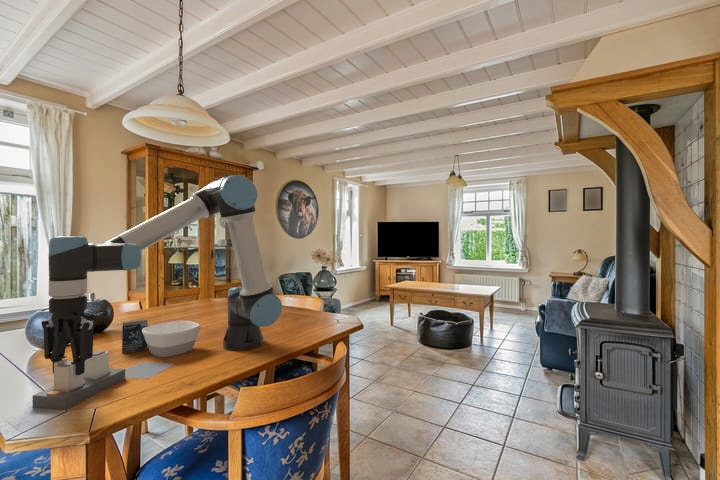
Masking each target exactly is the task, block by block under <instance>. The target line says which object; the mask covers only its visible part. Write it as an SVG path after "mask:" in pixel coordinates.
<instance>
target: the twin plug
mask: <svg viewBox="0 0 720 480" xmlns="http://www.w3.org/2000/svg"><path fill="white" fill-rule="evenodd" d="M71 362H73V360H67V362H64V363H61V364H59V365H58V366H55V367H54V374H53V386H54V391H61V392H63V393H68V392H71V391H73V390H75V389H77V388H79V387H81V386H79V387H77V388H75V389H70V364H71ZM82 386H83V385H82Z"/></svg>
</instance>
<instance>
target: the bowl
mask: <svg viewBox="0 0 720 480" xmlns="http://www.w3.org/2000/svg"><path fill="white" fill-rule="evenodd" d="M200 330H201V325H200V324H199V323H197V322H194V321H189V320H173V321H166V322H161V323H160V322H159V323H156V324H152V325H148V327H145V328H143V329H142V333H143V335H144V338H145V340H146V343H147V345H148V349H149V352H150V354H151V355H153V356H155V357H161V358H167V357H169V358H170V357H174V356H177V355H181V354H184V353H187V352H191V351H192V350H193V349H194V346H195V343H196V340H197V338H198V336H199V333H200Z"/></svg>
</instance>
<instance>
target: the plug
mask: <svg viewBox="0 0 720 480" xmlns="http://www.w3.org/2000/svg"><path fill="white" fill-rule="evenodd" d="M84 368H85V372H84V373H83V374H84V379H99V378H101V377H103V376H105V375H107V374H109V368H110V351H106V350H95V351H94V350H93V356H92V358H89V359H87V360H85V367H84Z"/></svg>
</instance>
